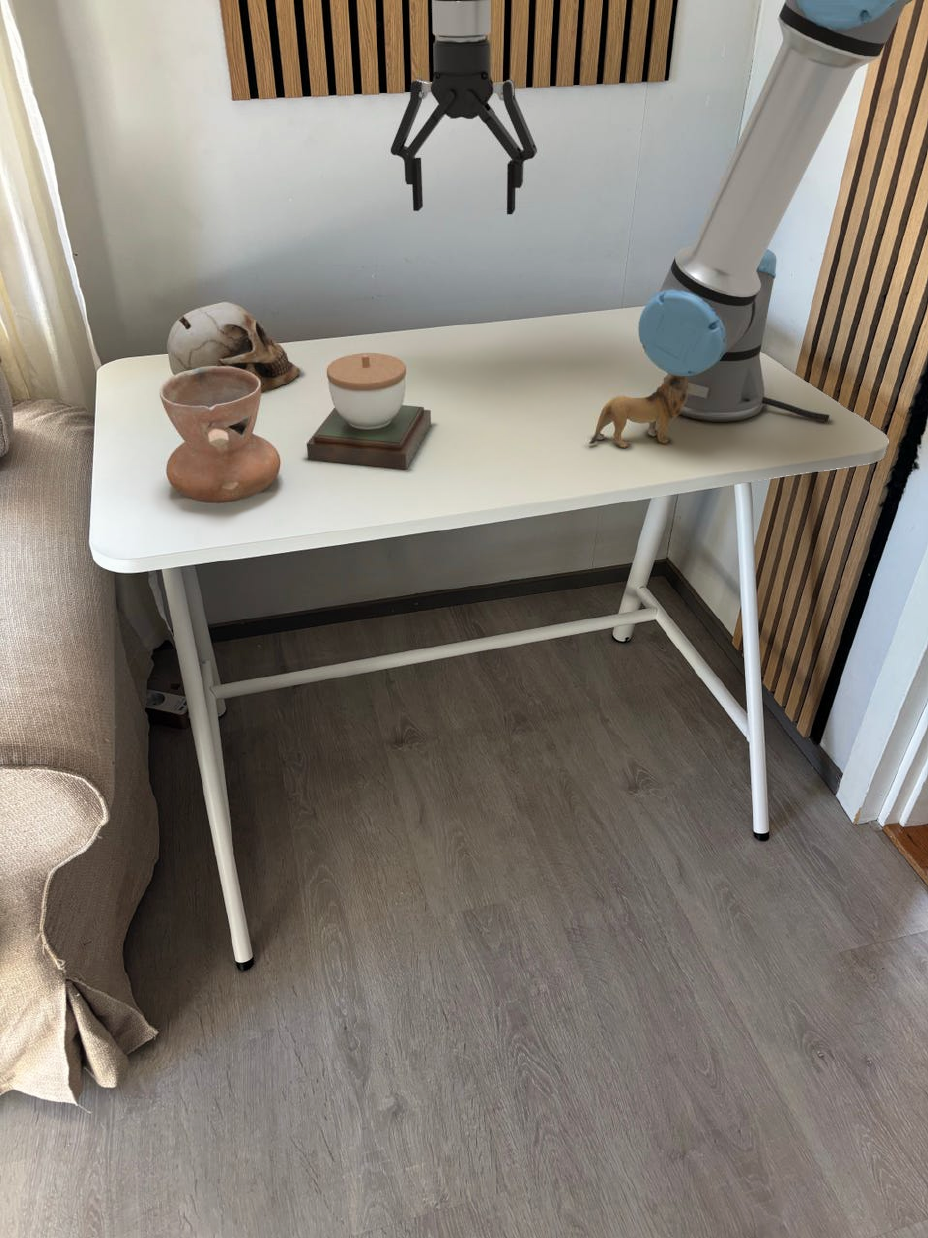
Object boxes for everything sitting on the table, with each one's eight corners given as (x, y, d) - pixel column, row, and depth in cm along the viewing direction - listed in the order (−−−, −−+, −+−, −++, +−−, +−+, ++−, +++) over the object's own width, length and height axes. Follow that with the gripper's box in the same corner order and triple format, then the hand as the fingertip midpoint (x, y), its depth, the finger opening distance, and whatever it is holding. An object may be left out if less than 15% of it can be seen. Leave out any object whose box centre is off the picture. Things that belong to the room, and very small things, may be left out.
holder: (431, 425, 141) (430, 404, 139) (406, 469, 130) (405, 447, 128) (340, 416, 144) (338, 395, 142) (308, 459, 133) (305, 437, 131)
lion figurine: (672, 424, 141) (680, 365, 136) (691, 439, 137) (700, 379, 132) (581, 439, 137) (586, 379, 132) (597, 456, 133) (603, 394, 128)
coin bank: (308, 370, 157) (291, 290, 148) (243, 421, 146) (221, 338, 137) (233, 356, 163) (213, 279, 155) (165, 404, 152) (139, 324, 144)
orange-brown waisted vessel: (290, 511, 121) (276, 405, 113) (171, 526, 119) (149, 419, 110) (275, 448, 135) (262, 350, 127) (169, 460, 133) (149, 361, 124)
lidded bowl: (322, 434, 131) (315, 368, 126) (342, 401, 140) (337, 338, 134) (398, 439, 130) (395, 373, 124) (415, 406, 138) (412, 343, 133)
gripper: (560, 35, 126) (554, 206, 139) (377, 34, 130) (387, 200, 143) (553, 41, 120) (547, 220, 133) (361, 40, 125) (373, 213, 137)
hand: (464, 210), depth 138 cm, fingers open, 13 cm apart
